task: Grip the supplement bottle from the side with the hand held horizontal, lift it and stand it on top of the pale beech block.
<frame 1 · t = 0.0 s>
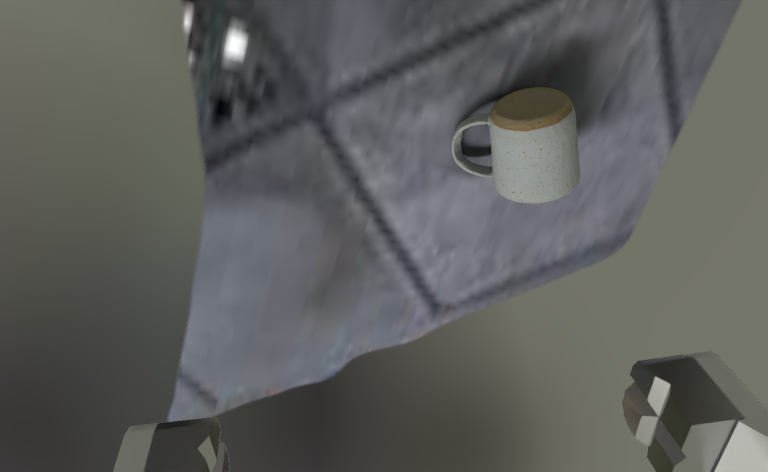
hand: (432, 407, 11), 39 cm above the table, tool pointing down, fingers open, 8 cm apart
ceramic mug: (505, 130, 53), on the table
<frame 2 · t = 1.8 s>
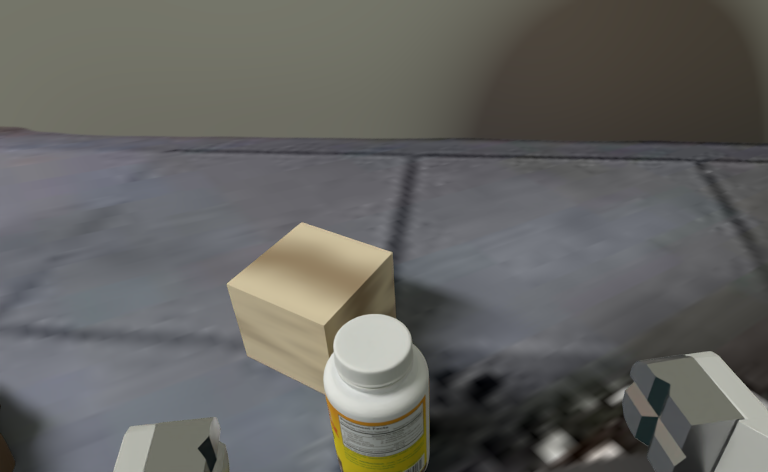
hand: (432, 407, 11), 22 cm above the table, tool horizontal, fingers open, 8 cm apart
beech block: (323, 339, 42), on the table
supplement bottle: (384, 459, 34), on the table
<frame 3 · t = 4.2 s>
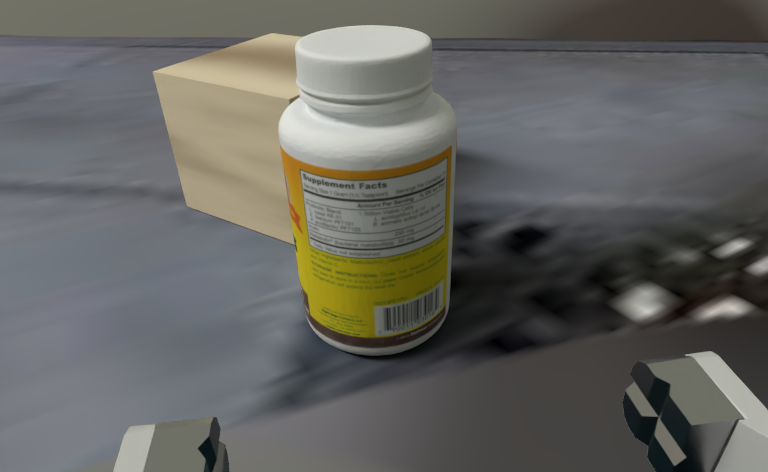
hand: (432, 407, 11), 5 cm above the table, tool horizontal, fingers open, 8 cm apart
beech block: (296, 192, 30), on the table
supplement bottle: (376, 315, 22), on the table
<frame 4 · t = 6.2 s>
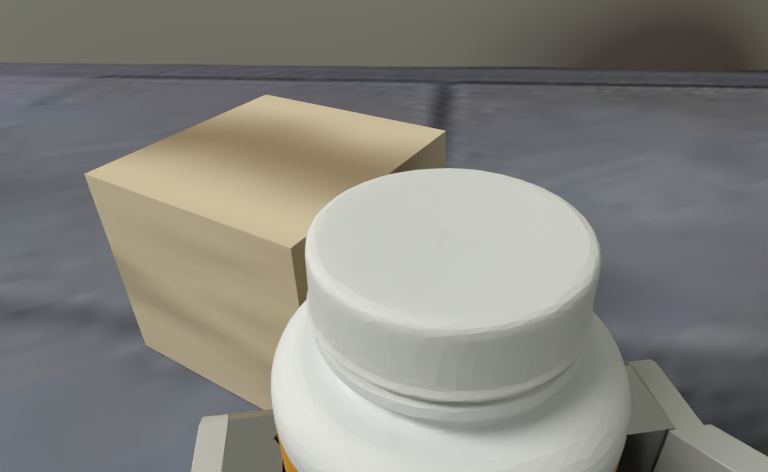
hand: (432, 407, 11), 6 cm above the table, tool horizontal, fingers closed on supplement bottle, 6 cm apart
beech block: (299, 318, 21), on the table
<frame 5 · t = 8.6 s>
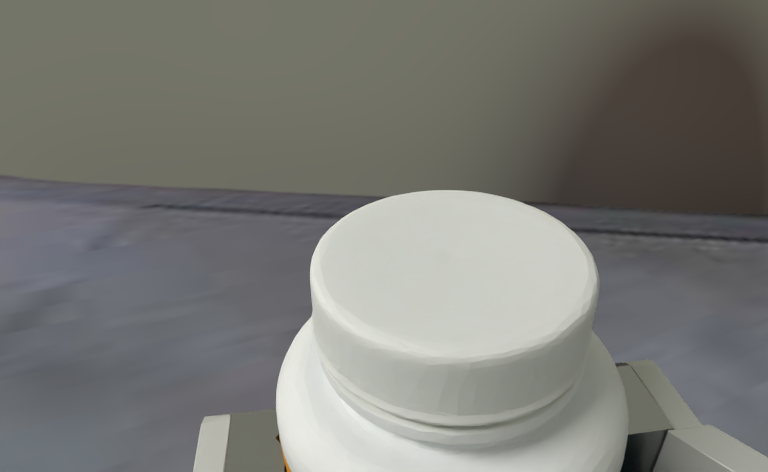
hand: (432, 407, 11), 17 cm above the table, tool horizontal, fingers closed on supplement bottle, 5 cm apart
when the fingers open (13 cm above the table, at t = 10.5 s): supplement bottle stays where it is, resting on beech block.
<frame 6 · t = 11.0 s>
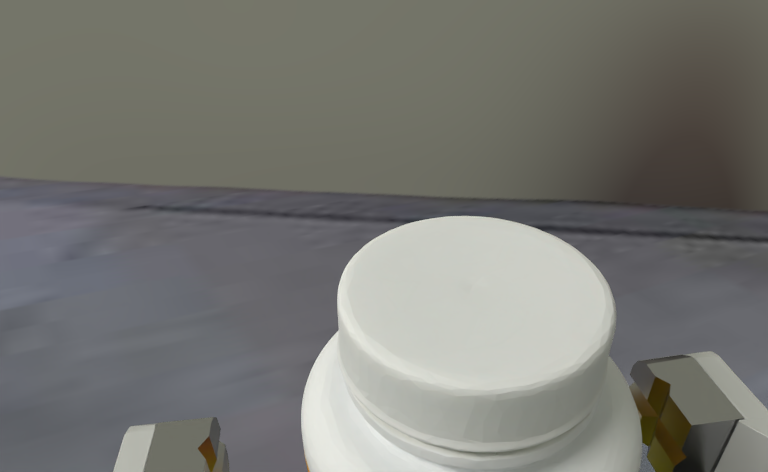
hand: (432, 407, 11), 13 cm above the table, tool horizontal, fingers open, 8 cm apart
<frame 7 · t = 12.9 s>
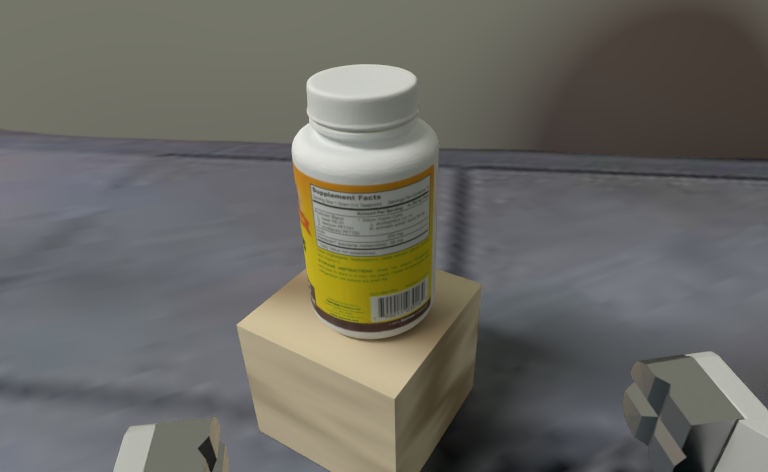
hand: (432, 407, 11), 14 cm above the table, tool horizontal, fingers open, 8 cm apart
beech block: (369, 408, 29), on the table
supplement bottle: (372, 306, 25), point 7 cm above the table, touching beech block
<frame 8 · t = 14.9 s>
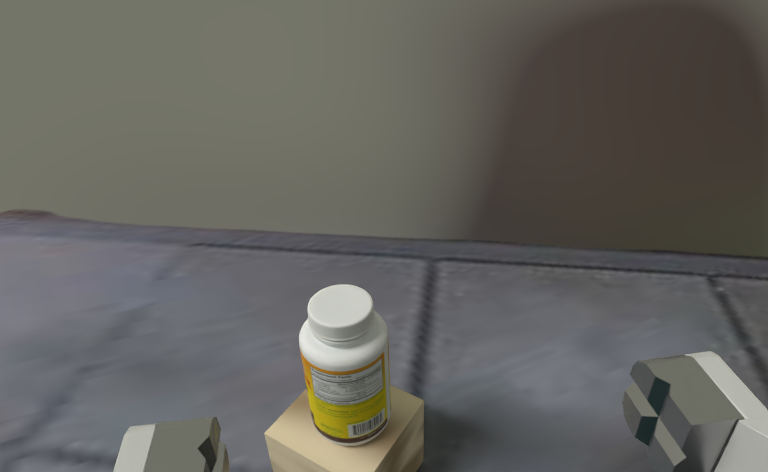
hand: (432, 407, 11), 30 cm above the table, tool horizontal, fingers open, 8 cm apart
supplement bottle: (351, 418, 39), point 7 cm above the table, touching beech block
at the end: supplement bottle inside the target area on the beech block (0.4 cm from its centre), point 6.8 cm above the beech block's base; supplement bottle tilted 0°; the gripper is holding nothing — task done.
